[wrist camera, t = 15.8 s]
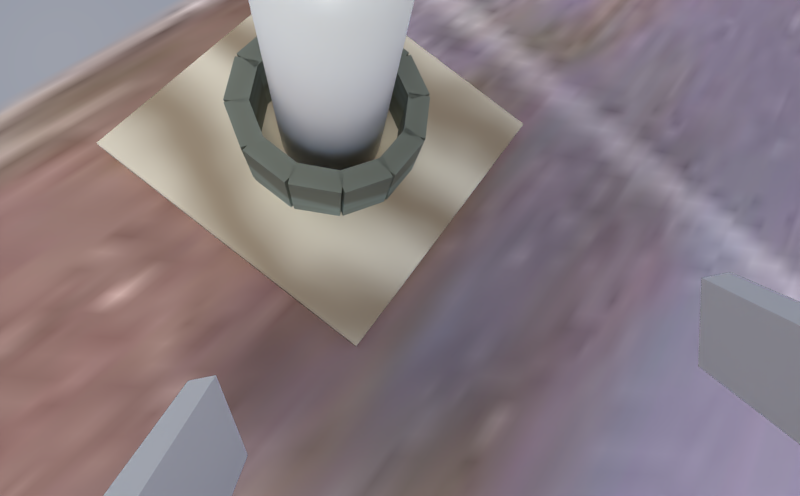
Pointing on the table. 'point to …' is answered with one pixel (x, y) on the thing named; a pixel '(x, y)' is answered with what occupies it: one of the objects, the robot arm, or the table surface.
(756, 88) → the table surface
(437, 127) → the roll holder
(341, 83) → the paper roll
